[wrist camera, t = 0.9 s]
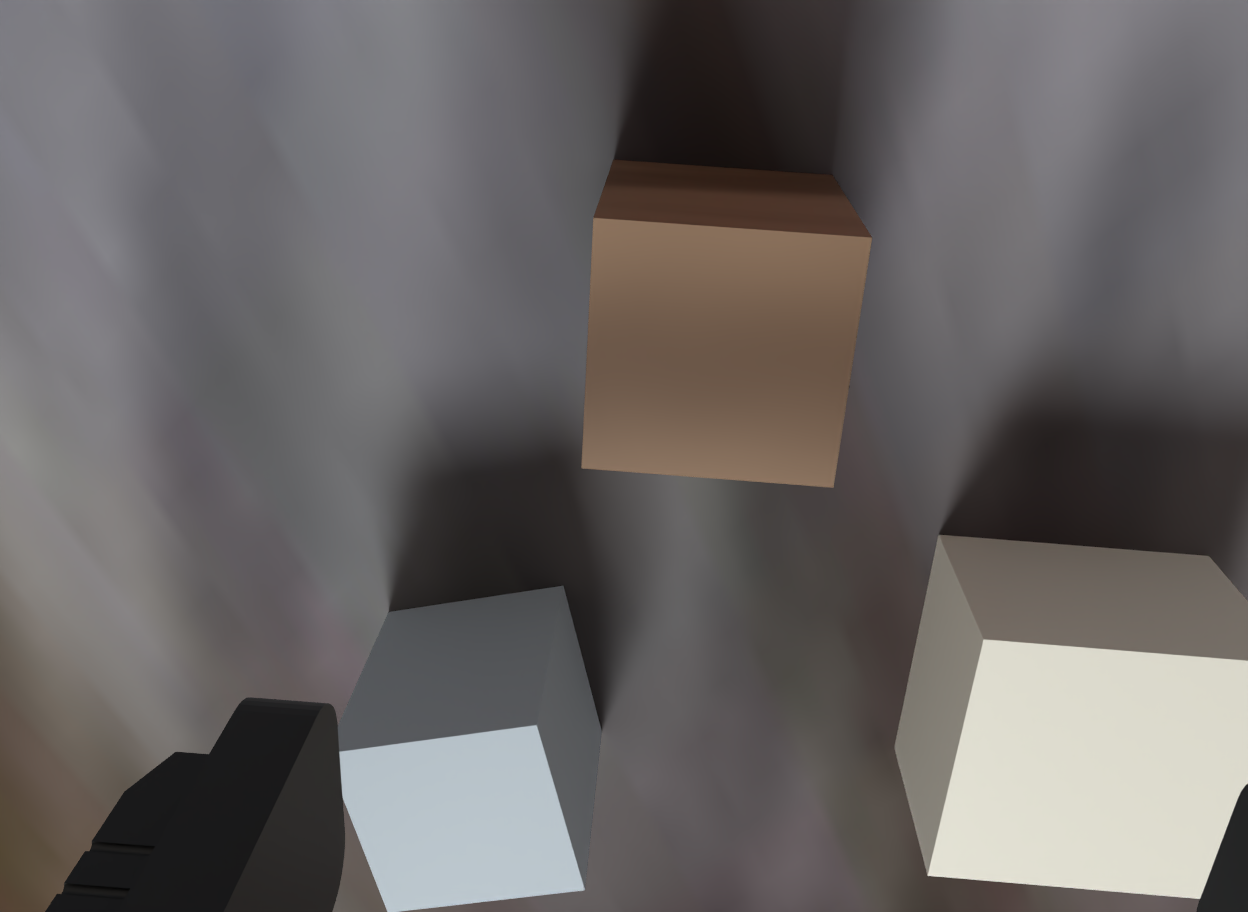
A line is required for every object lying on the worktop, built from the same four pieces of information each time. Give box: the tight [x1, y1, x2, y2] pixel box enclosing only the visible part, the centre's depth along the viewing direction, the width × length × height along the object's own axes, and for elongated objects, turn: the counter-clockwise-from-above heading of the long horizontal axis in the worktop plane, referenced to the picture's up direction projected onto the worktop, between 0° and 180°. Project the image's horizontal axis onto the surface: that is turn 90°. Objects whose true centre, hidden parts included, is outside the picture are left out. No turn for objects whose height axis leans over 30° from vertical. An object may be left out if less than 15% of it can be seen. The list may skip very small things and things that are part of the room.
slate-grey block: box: [338, 586, 602, 912], centre depth 29 cm, size 5×5×6 cm
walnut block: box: [582, 160, 872, 487], centre depth 24 cm, size 5×5×6 cm
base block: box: [894, 535, 1248, 899], centre depth 28 cm, size 7×7×5 cm
